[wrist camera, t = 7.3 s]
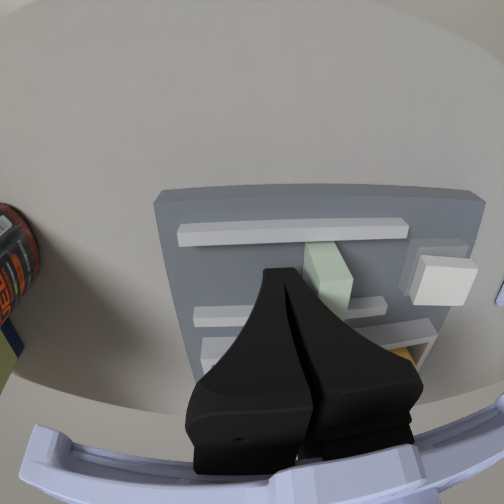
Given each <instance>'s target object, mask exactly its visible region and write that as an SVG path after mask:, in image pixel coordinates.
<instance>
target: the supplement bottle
mask: <svg viewBox="0 0 504 504" xmlns="http://www.w3.org/2000/svg"><path fill="white" fill-rule="evenodd" d="M39 263H40V260H39V252H38V248H37V245H36V242H35V239H34V236H33V234H32V232H31V230H30V228H29V227H28V225H27V224H26V223H25V221H24V219H23V218H21V216H20V215H19V214H18V213H17V212H16V211H15V210H13V209H12V208H11V207H9V206H8V205H6V204H3V203H0V327H1V326H2V324H3V323H4V321H5V320H6V319H7V317H8V316H9V314H10V313H11V312H12V310H13V309H14V307H15V306H16V305H17V304H18V302H19V301H20V299H21V298H22V297H23V296H24V294H25V293H26V291H27V290H28V289H29V288H30V287H31V284H32V283H33V282H34V280H35V279H36V277H37V274H38V271H39Z"/></svg>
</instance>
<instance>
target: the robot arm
mask: <svg viewBox="0 0 504 504" xmlns="http://www.w3.org/2000/svg"><path fill="white" fill-rule="evenodd" d="M496 304H497V305H498V306H502V305H504V284H503V286H502V288H501V290H500V292H499V295H498V297H497V299H496ZM422 391H423V383H422V381H421V379H420V376H419V374H418V372H417V370H416V368H415V367H414V365H413V363H412V361H410V360H408V359H406V358H404V357H401V356H399V355H397V354H395V353H392V352H390V351H388V350H386V349H384V348H382V347H381V346H379V345H377V344H375V343H373V342H372V341H370V340H369V339H367V338H365V337H364V336H362V335H361V334H359V333H358V332H357V331H355V330H354V329H352V328H351V327H350V326H348V325H347V324H346V323H345V322H343V321H342V320H341V319H340V318H339V317H337V316H336V315H335V314H334V313H333V312H332V311H331V310H330V309H329V308H328V307H327V306H326V305H325V304H324V303H323V302H322V301H321V300H320V299H319V297H318V296H317V295H316V294H315V293H314V292H313V291H312V289H311V288H310V287H309V286H308V284H307V283H306V282H305V281H304V279H303V278H302V277H301V275H300V274H299V273H298V271H297V270H296V269H295V268H294V267H286V268H265V269H264V270H263V278H262V284H261V287H260V291H259V294H258V297H257V300H256V302H255V305H254V307H253V309H252V311H251V313H250V316H249V318H248V320H247V321H246V323H245V325H244V327H243V328H242V330H241V332H240V333H239V335H238V336H237V338H236V339H235V341H234V342H233V344H232V345H231V346H230V348H229V349H228V350H227V351H226V353H225V354H224V355H223V356H222V357H221V358H220V360H219V361H218V362H217V363H216V364H215V365H214V366H213V367H212V368H211V369H210V370H209V371H208V372H207V373H206V374H205V375H204V376H203V377H202V378H201V379H200V380H199V381H198V382H197V383H196V385H195V388H194V390H193V392H192V395H191V398H190V401H189V404H188V408H187V412H186V422H185V429H186V433H187V434H188V436H189V438H190V440H191V442H192V443H193V445H194V459H193V462H182V461H171V460H161V459H154V458H146V457H140V456H133V455H128V454H122V453H117V452H111V451H107V450H102V449H98V448H94V447H90V446H86V445H82V444H78V443H74V442H72V440H71V439H70V438H69V437H68V436H66V435H65V434H64V433H61V432H60V431H57V430H55V429H52V428H48V427H45V426H42V425H39V424H35V426H34V429H33V432H32V434H31V437H30V440H29V443H28V446H27V449H26V453H25V456H24V459H23V463H22V466H21V469H20V473H19V477H20V479H22V480H23V481H25V482H27V483H28V484H30V485H32V486H34V487H35V488H37V489H39V490H41V491H43V492H45V493H47V494H49V495H51V496H53V497H54V498H57V499H59V500H62V501H64V502H67V503H69V504H441V502H440V499H439V495H438V493H440V492H443V491H444V490H447V489H449V488H451V487H453V486H455V485H457V484H459V483H461V482H463V481H464V480H466V479H468V478H470V477H472V476H474V475H475V474H477V473H479V472H480V471H482V470H484V469H486V468H487V467H489V466H491V465H492V464H494V463H495V462H497V461H499V460H500V459H502V458H503V457H504V393H503V394H502V395H501V396H500V397H499V398H498V399H497V400H496V402H495V403H494V404H492V405H490V406H488V407H486V408H483V409H481V410H479V411H477V412H475V413H473V414H470V415H468V416H466V417H463V418H461V419H459V420H456V421H454V422H451V423H449V424H446V425H444V426H441V427H438V428H435V429H433V430H430V431H427V432H424V433H421V434H418V435H415V436H413V434H412V431H411V429H410V426H409V423H411V422H412V418H411V416H410V413H409V411H410V410H411V408H412V407H413V406H414V404H415V403H416V402H417V400H418V399H419V397H420V395H421V393H422ZM297 454H298V460H296V457H297Z"/></svg>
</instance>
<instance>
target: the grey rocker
mask: <svg viewBox="0 0 504 504" xmlns="http://www.w3.org/2000/svg"><path fill="white" fill-rule="evenodd" d="M477 271H478V268H477V267H476V265H475V264H474V262H473V261H472V259H467V258H455V257H442V256H430V255H420V258H419V262H418V265H417V269H416V272H415V275H414V279H413V282H412V285H411V288H410V291H409V295H410V298H411V301H412V304H413V305H434V306H463V305H464V302H465V300H466V298H467V296H468V293H469V291H470V289H471V286H472V284H473V281H474V279H475V276H476V274H477Z"/></svg>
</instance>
